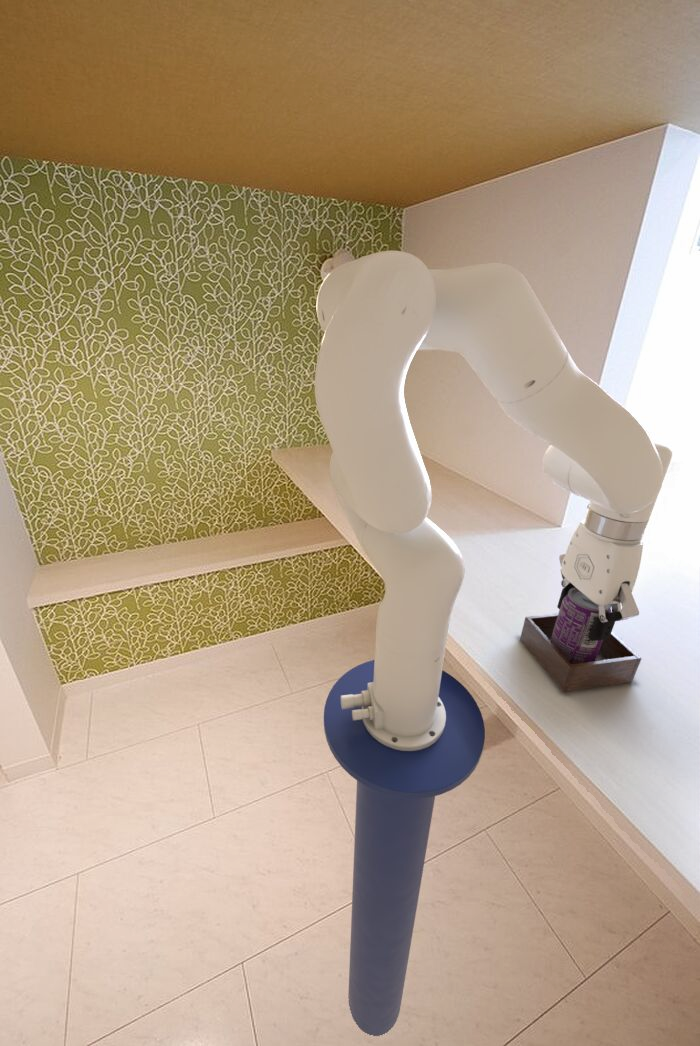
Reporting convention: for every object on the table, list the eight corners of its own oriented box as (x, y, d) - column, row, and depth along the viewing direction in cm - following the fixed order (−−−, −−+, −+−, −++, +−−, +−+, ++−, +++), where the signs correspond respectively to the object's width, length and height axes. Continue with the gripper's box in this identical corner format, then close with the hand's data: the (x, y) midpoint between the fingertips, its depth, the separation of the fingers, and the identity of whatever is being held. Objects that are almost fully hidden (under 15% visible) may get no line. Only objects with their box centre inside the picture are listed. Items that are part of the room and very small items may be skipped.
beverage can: (599, 657, 73) (621, 598, 68) (585, 679, 68) (607, 617, 63) (557, 637, 77) (574, 580, 72) (540, 656, 73) (558, 596, 68)
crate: (562, 692, 67) (570, 668, 65) (519, 639, 78) (525, 616, 76) (632, 682, 69) (642, 658, 67) (581, 631, 80) (588, 609, 78)
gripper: (554, 501, 69) (530, 593, 77) (638, 554, 54) (598, 663, 62) (595, 499, 71) (568, 590, 78) (689, 551, 55) (643, 658, 63)
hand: (581, 622), depth 70 cm, fingers closed on beverage can, 7 cm apart
